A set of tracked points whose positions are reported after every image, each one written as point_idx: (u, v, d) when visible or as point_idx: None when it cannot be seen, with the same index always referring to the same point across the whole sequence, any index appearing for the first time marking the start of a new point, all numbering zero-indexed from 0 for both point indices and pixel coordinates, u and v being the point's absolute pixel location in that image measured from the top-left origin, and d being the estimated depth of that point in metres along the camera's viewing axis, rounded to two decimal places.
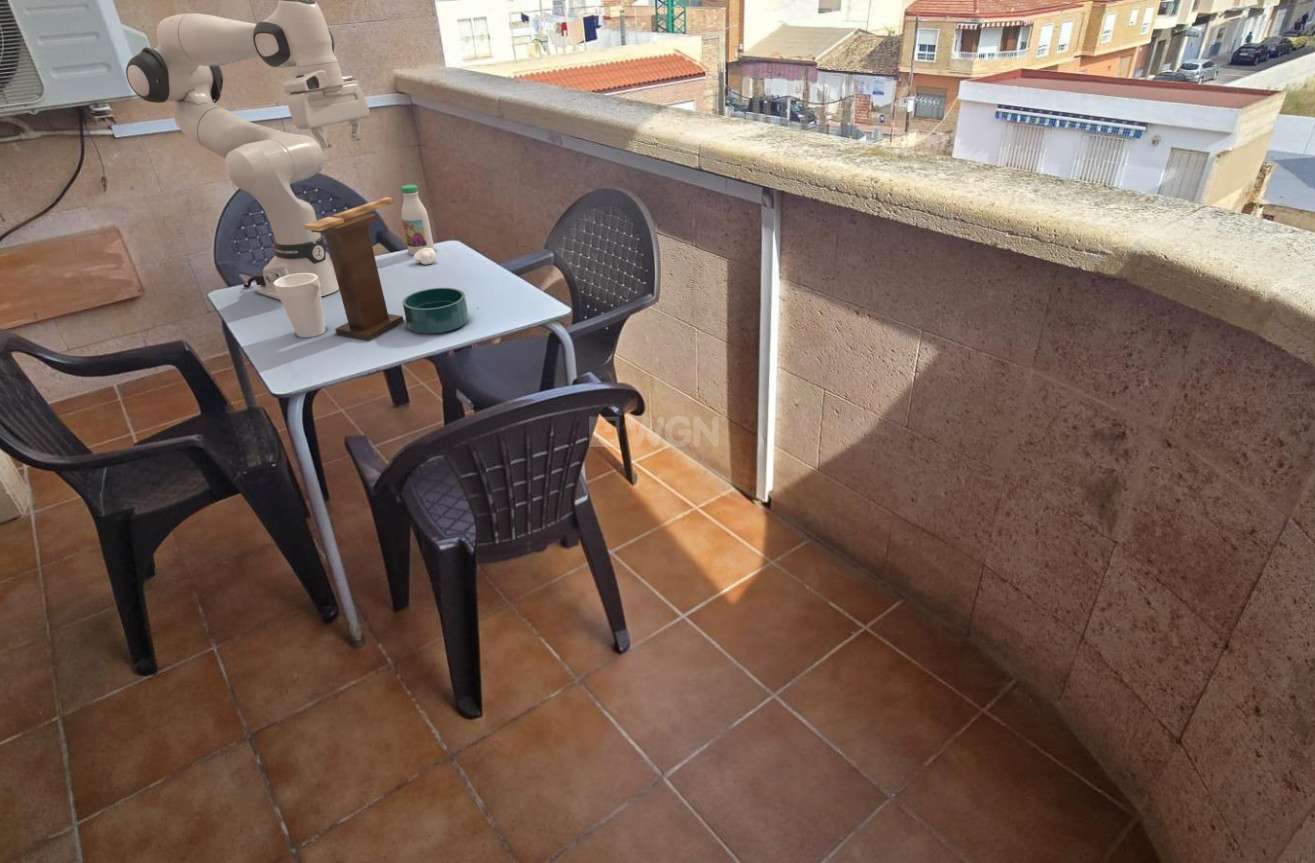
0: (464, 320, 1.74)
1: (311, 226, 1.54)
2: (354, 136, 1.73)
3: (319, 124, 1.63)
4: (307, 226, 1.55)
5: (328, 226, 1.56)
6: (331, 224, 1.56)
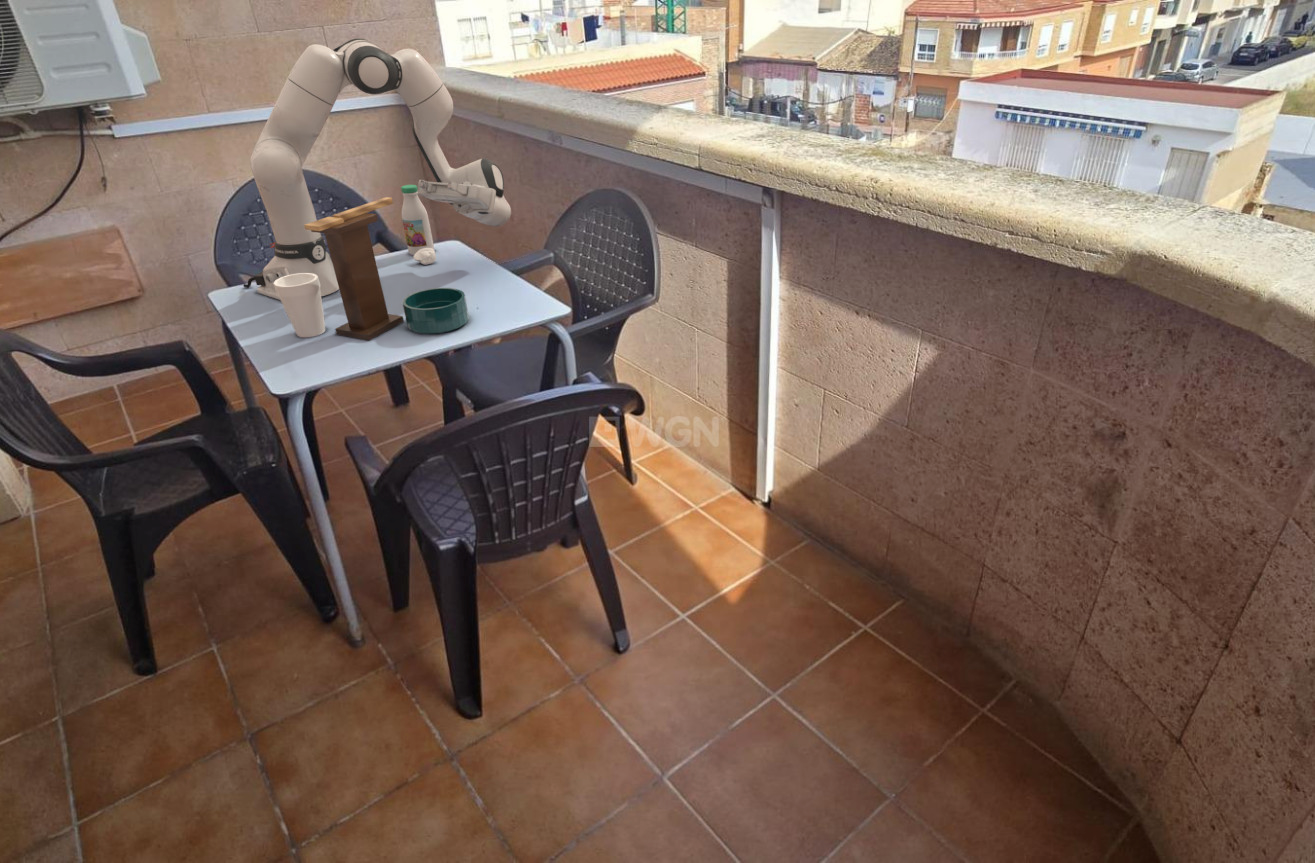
0: (464, 320, 1.74)
1: (311, 226, 1.54)
2: (424, 185, 1.89)
3: (466, 198, 1.89)
4: (307, 226, 1.55)
5: (328, 226, 1.56)
6: (331, 224, 1.56)
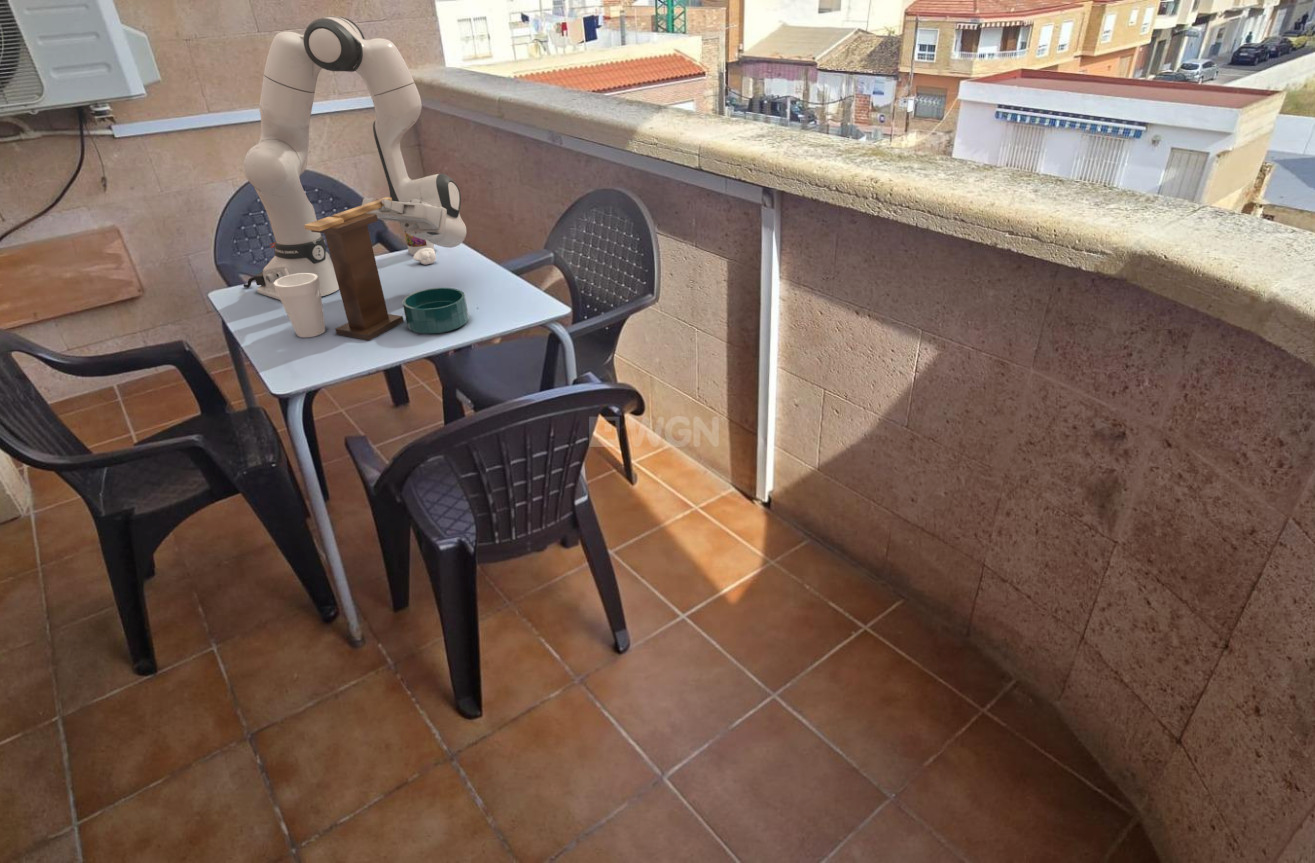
0: (464, 320, 1.74)
1: (311, 226, 1.54)
2: None
3: (412, 218, 1.73)
4: (307, 226, 1.55)
5: (328, 226, 1.56)
6: (331, 224, 1.56)
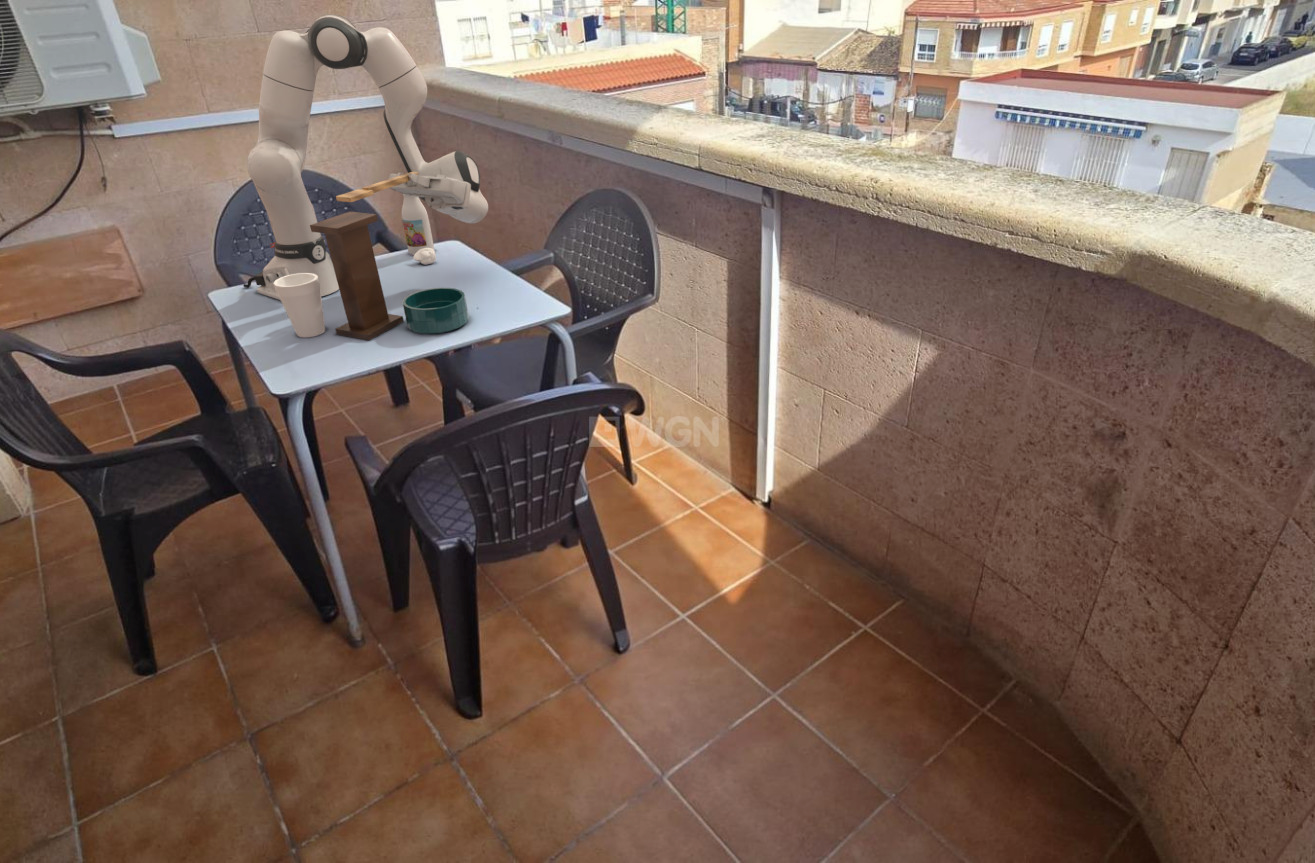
0: (464, 320, 1.74)
1: (343, 197, 1.59)
2: None
3: (438, 192, 1.77)
4: (339, 197, 1.59)
5: (359, 197, 1.60)
6: (362, 196, 1.61)
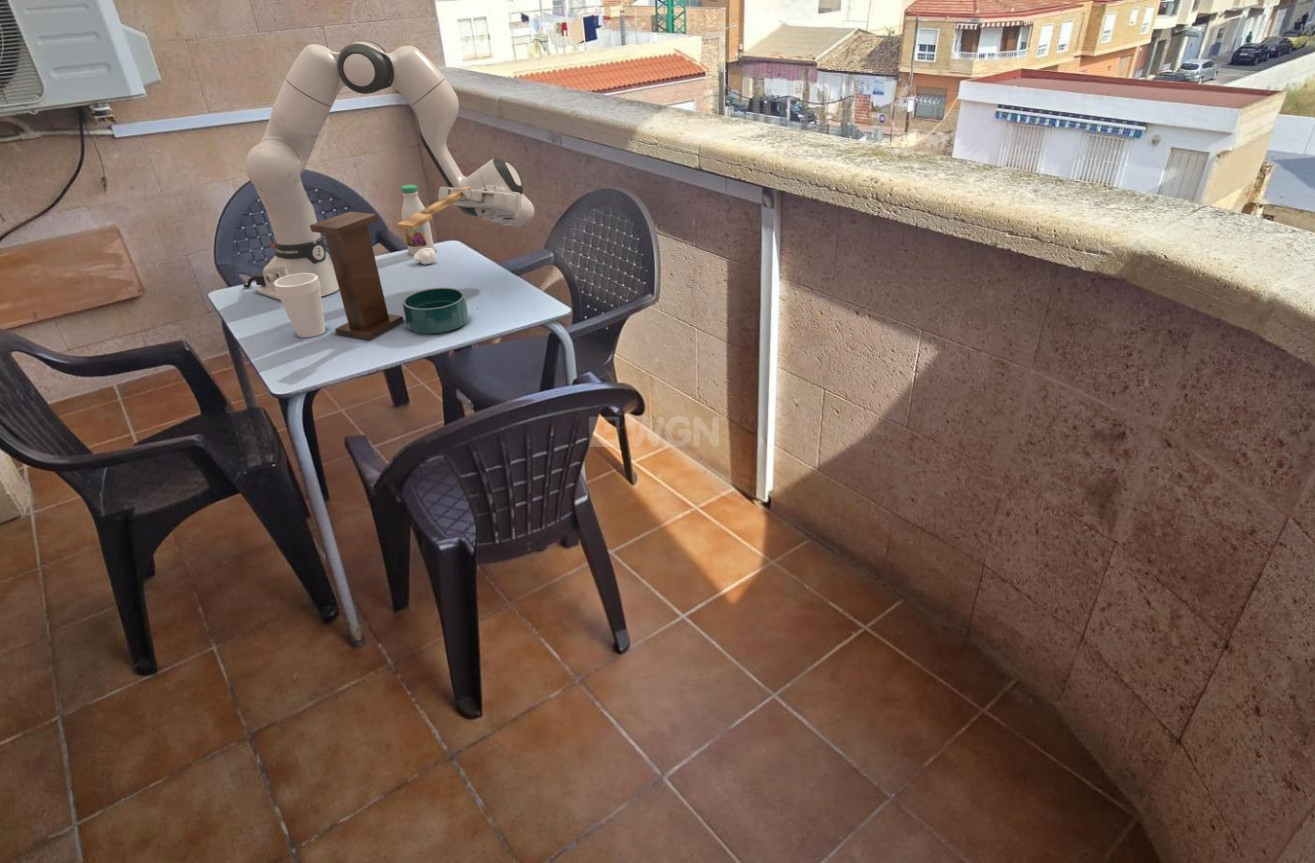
0: (464, 320, 1.74)
1: (404, 225, 1.59)
2: None
3: (492, 206, 1.77)
4: (400, 225, 1.60)
5: (420, 224, 1.61)
6: (422, 221, 1.61)
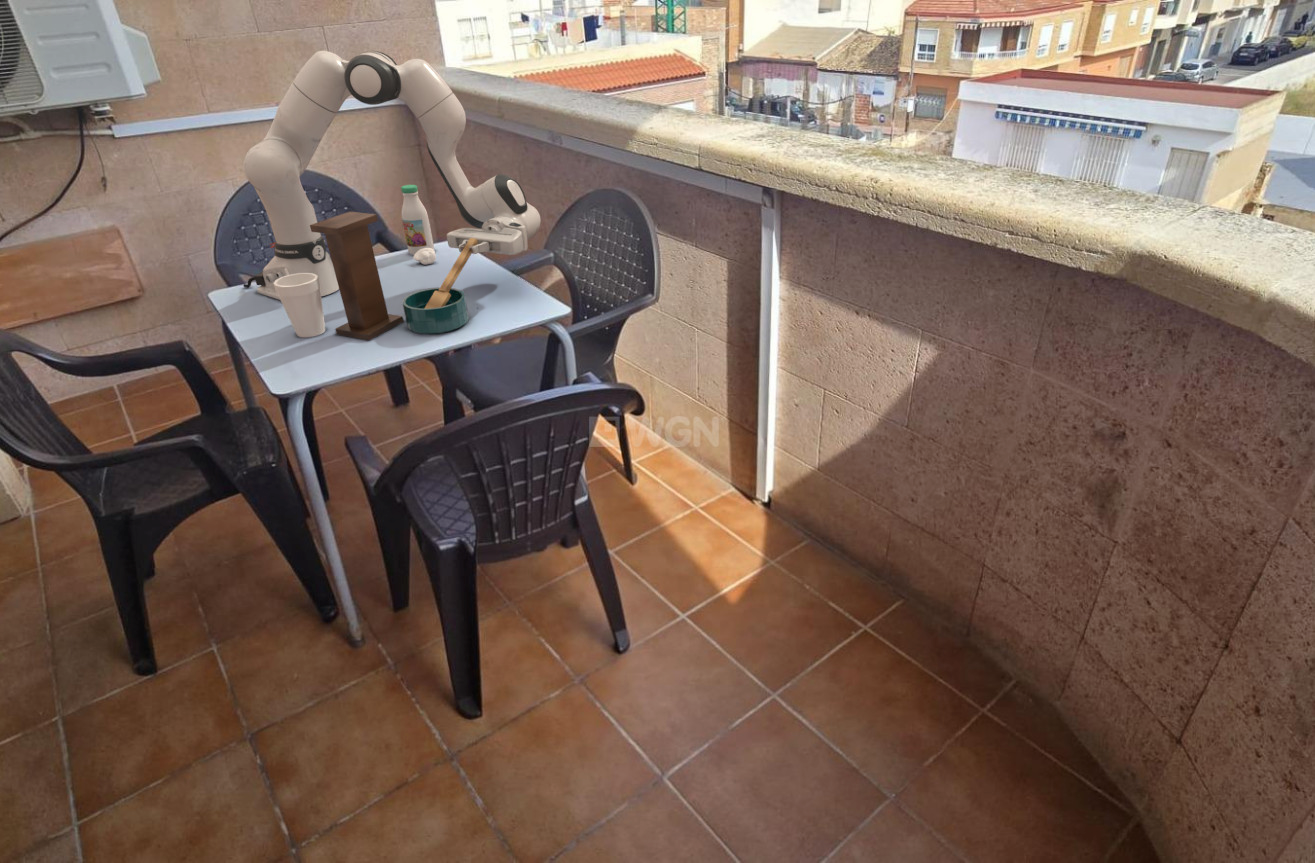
0: (464, 320, 1.74)
1: None
2: None
3: (500, 253, 1.82)
4: None
5: None
6: (443, 305, 1.72)
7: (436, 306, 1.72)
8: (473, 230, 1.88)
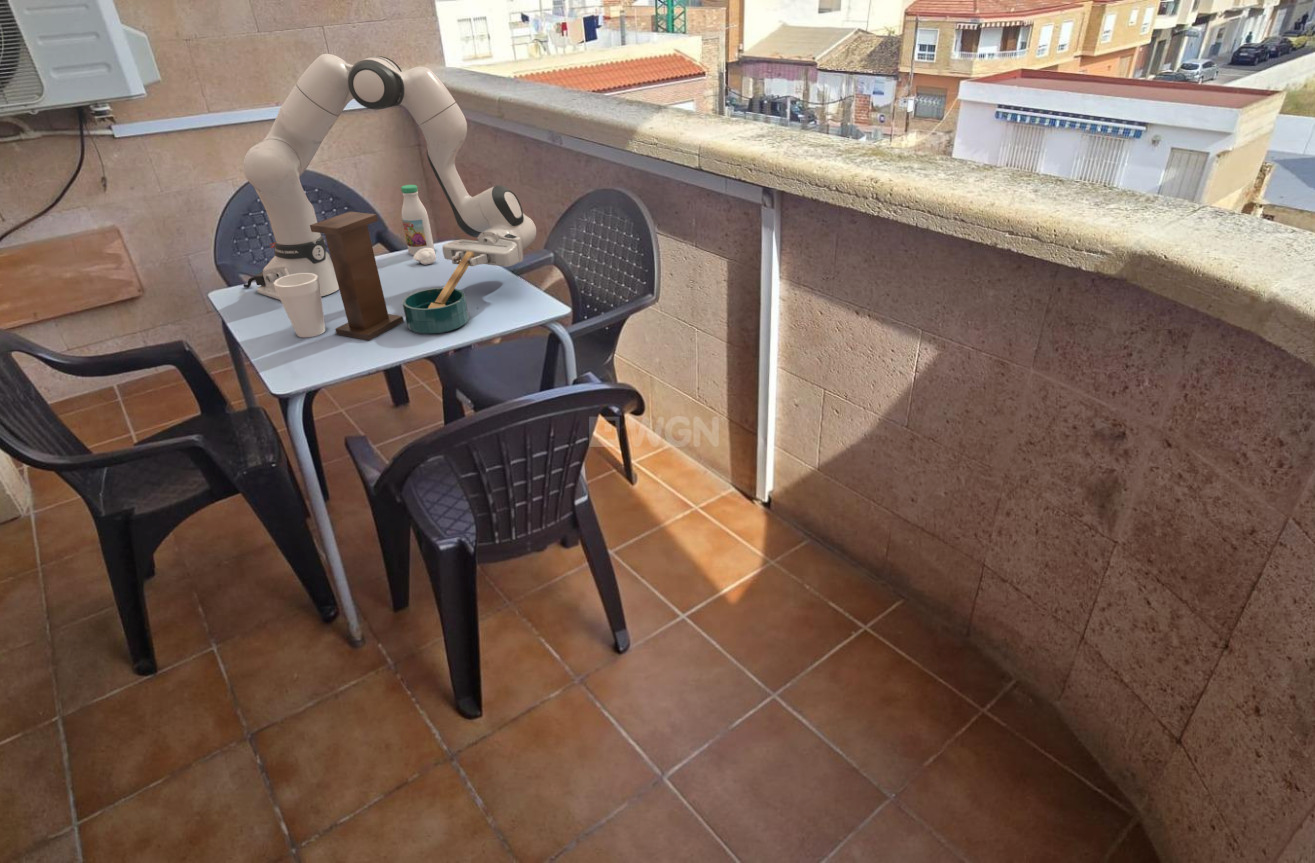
0: (464, 320, 1.74)
1: None
2: (458, 261, 1.82)
3: (496, 265, 1.83)
4: None
5: None
6: None
7: None
8: (469, 242, 1.89)
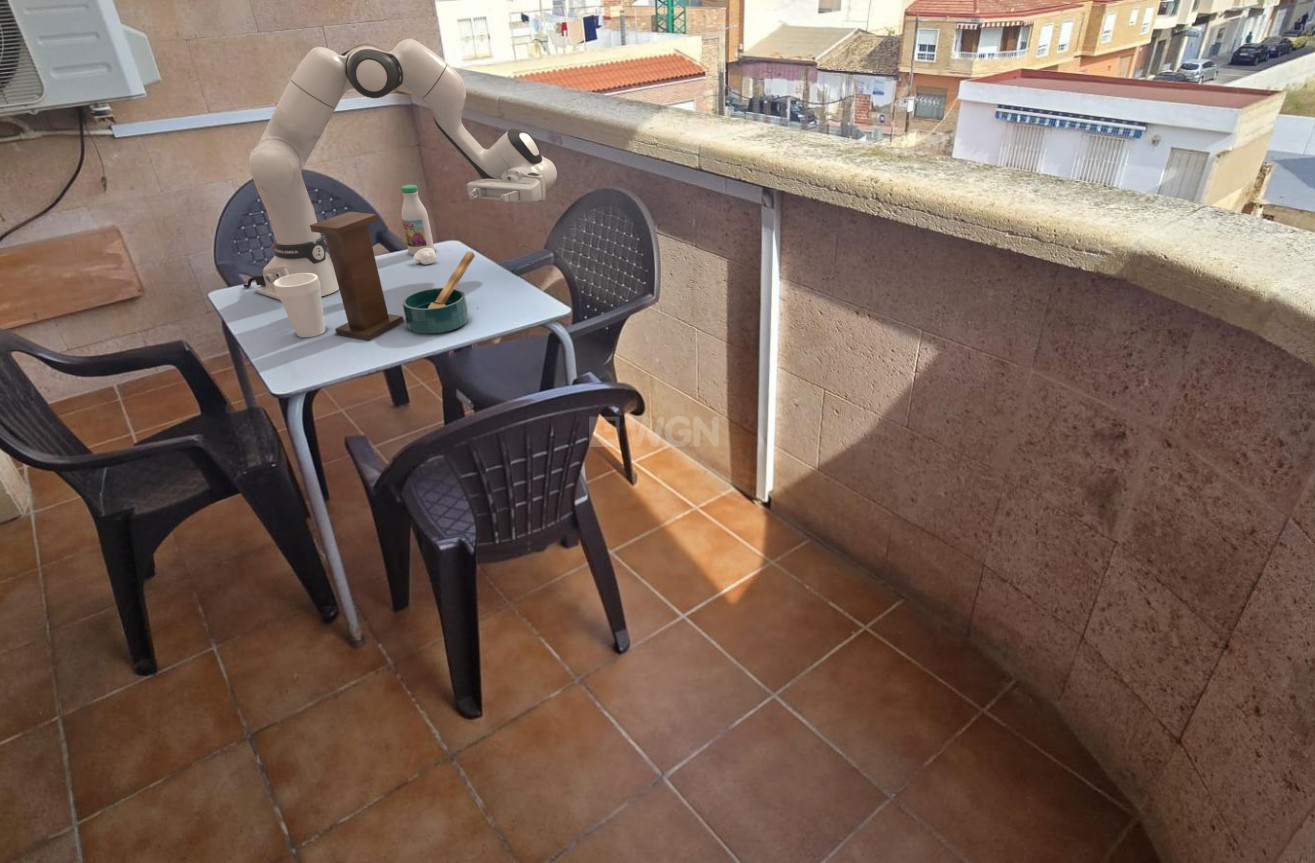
0: (464, 320, 1.74)
1: None
2: (476, 197, 1.87)
3: (520, 201, 1.87)
4: None
5: None
6: None
7: None
8: (492, 180, 1.93)
